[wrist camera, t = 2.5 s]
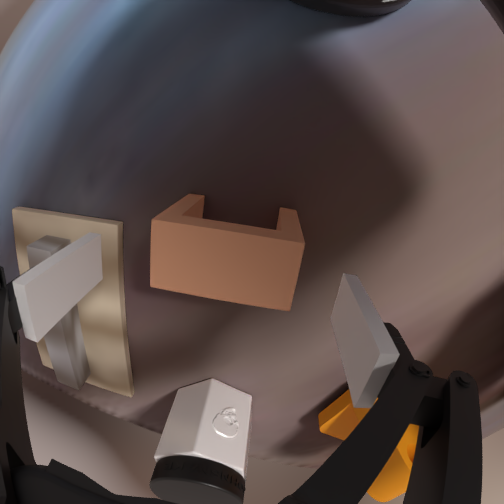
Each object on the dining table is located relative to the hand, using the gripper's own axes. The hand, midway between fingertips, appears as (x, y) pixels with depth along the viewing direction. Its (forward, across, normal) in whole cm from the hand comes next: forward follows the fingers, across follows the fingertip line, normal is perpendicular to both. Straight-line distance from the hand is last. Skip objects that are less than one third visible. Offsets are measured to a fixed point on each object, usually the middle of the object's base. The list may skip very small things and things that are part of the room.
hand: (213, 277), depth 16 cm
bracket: (+8, +17, -18) cm, 26 cm away
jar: (+9, 0, -20) cm, 21 cm away
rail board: (+8, -16, -11) cm, 21 cm away
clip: (+8, 0, 0) cm, 8 cm away
